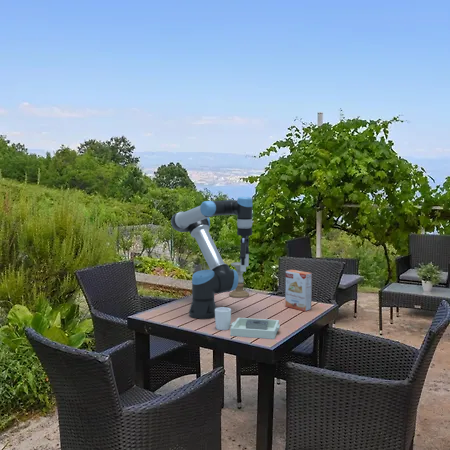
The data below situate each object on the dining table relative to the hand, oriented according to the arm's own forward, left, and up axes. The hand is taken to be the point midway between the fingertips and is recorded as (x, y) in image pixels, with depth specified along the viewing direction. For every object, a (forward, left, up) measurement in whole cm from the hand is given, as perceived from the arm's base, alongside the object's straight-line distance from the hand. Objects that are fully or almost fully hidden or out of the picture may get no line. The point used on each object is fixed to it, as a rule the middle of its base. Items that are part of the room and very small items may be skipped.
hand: (244, 268), depth 240 cm
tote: (+9, -22, -26) cm, 35 cm away
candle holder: (-13, +48, -26) cm, 56 cm away
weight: (+9, -18, -25) cm, 32 cm away
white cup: (-7, -20, -26) cm, 34 cm away
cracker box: (+25, +26, -26) cm, 45 cm away
